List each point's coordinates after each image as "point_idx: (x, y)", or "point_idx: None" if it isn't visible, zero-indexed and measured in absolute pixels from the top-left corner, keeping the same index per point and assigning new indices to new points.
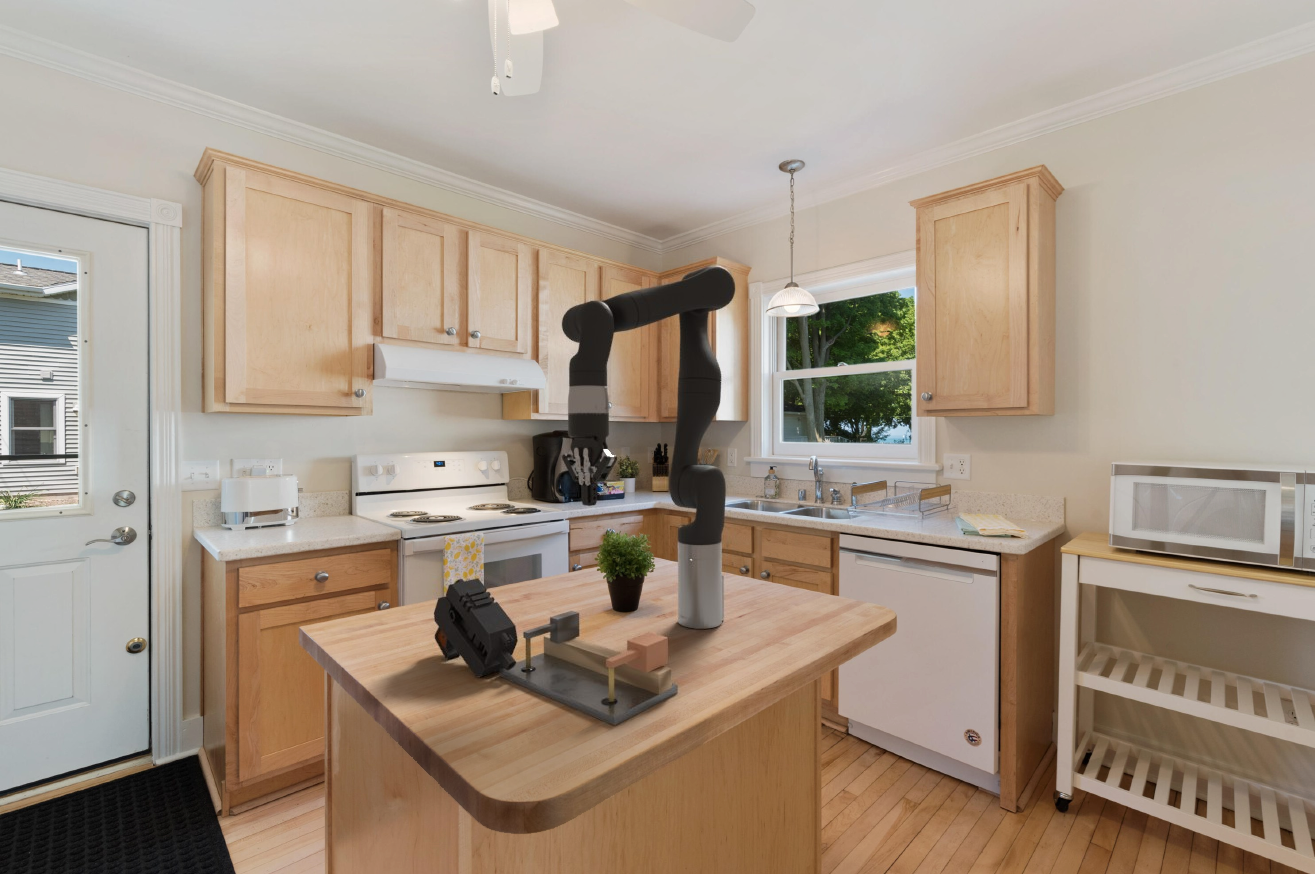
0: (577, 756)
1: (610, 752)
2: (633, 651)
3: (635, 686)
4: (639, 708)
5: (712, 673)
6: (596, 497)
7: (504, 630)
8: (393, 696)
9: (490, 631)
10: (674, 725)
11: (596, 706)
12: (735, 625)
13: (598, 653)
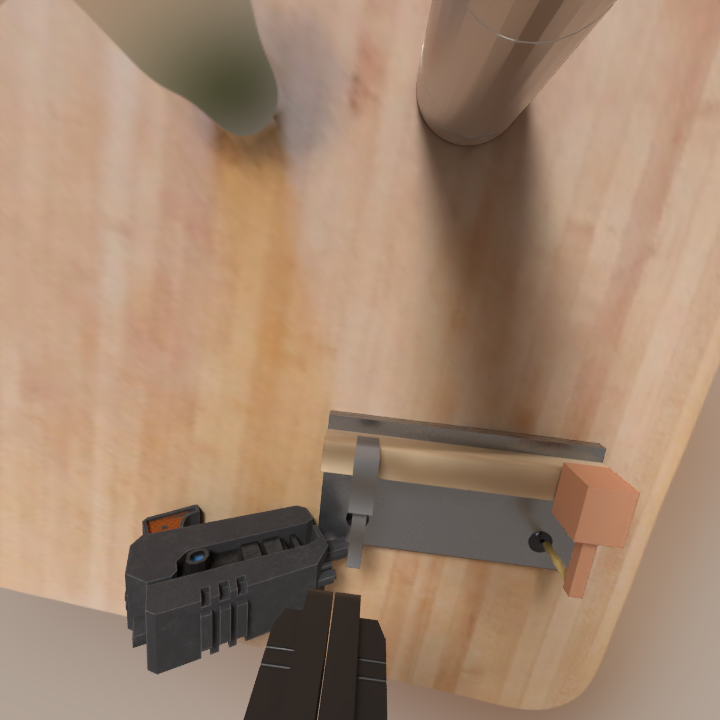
0: (566, 631)
1: (596, 609)
2: (591, 547)
3: None
4: None
5: (621, 348)
6: (385, 663)
7: (316, 583)
8: None
9: None
10: (639, 526)
11: (532, 560)
12: None
13: (468, 486)
